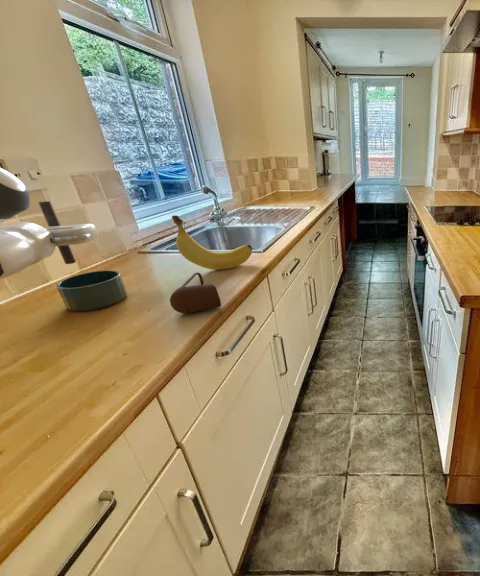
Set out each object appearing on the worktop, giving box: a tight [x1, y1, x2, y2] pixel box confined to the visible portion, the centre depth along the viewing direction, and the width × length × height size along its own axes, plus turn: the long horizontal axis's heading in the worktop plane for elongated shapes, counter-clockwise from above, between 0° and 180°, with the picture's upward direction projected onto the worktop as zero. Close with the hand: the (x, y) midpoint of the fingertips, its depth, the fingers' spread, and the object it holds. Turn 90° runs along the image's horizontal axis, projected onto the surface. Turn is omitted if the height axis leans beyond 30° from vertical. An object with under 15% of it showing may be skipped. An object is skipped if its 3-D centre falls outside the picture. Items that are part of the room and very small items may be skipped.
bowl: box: [55, 269, 128, 312], centre depth 88 cm, size 13×13×7 cm
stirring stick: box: [37, 200, 77, 265], centre depth 82 cm, size 2×2×16 cm
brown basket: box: [169, 272, 222, 314], centre depth 87 cm, size 18×12×7 cm, turn 23°
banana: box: [171, 215, 253, 270], centre depth 109 cm, size 23×6×20 cm, turn 122°
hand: (58, 229), depth 82 cm, fingers closed on stirring stick, 2 cm apart
